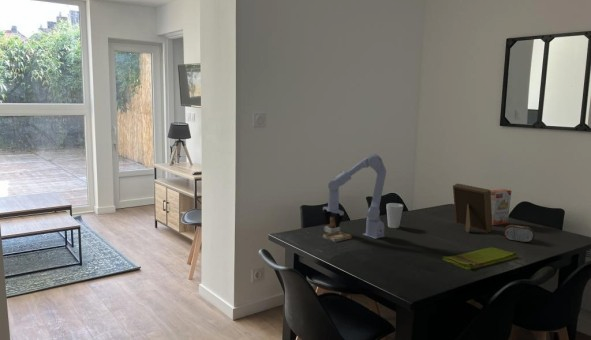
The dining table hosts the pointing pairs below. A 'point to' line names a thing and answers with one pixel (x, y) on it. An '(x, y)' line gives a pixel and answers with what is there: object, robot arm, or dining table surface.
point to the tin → (519, 233)
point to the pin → (332, 222)
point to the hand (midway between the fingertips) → (332, 225)
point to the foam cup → (394, 214)
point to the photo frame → (472, 207)
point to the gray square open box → (330, 230)
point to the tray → (337, 236)
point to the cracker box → (500, 206)
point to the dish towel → (480, 258)
